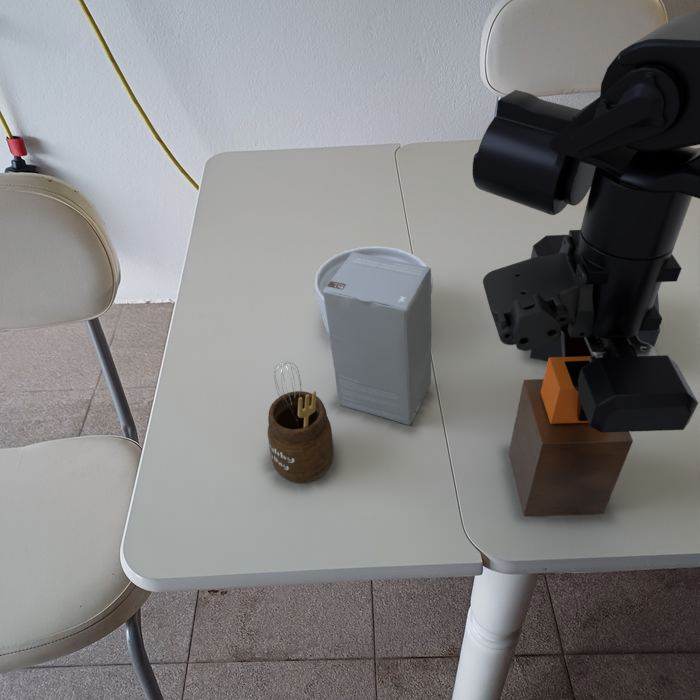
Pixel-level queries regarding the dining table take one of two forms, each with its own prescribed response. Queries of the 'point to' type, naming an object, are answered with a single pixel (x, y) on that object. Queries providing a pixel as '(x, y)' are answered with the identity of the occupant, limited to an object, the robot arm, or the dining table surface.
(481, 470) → the dining table surface
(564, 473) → the stand
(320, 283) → the ramekin
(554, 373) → the orange block
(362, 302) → the cosmetic box
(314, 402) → the utensil holder
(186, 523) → the dining table surface
